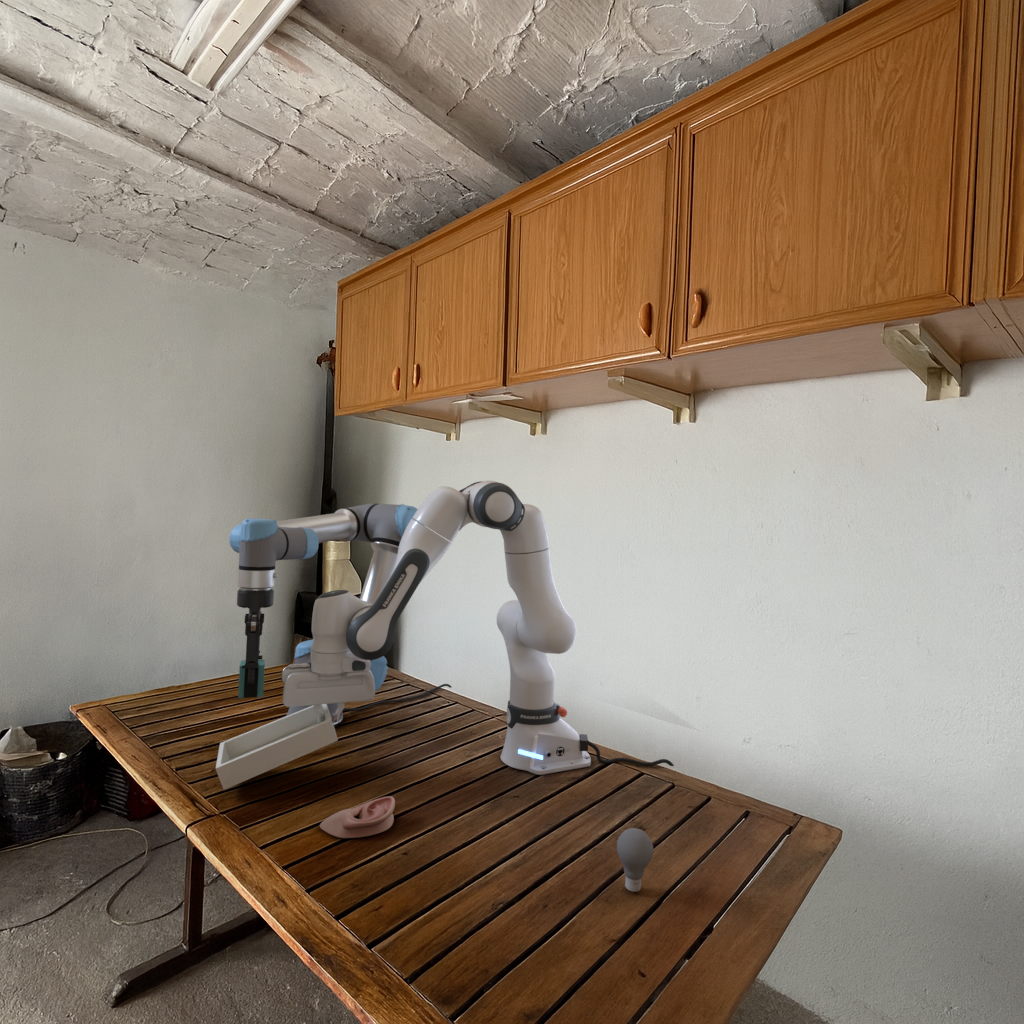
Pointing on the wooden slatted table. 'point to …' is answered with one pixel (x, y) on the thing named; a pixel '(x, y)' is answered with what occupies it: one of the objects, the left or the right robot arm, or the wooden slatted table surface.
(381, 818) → the anatomical model
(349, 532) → the left robot arm
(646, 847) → the light bulb
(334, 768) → the wooden slatted table surface
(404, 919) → the wooden slatted table surface
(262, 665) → the block
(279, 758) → the tray
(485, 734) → the wooden slatted table surface
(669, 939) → the wooden slatted table surface
